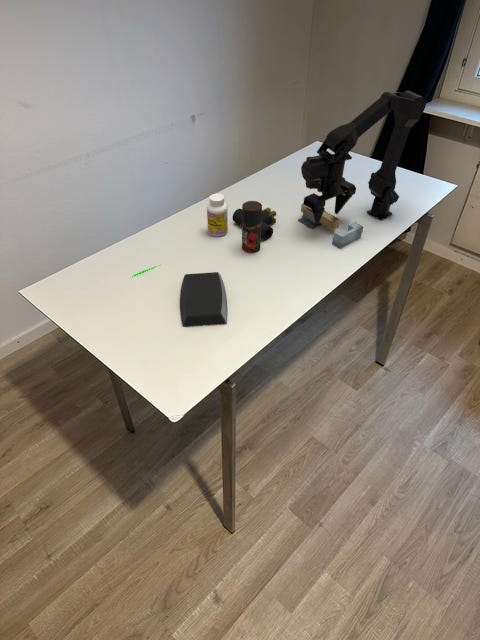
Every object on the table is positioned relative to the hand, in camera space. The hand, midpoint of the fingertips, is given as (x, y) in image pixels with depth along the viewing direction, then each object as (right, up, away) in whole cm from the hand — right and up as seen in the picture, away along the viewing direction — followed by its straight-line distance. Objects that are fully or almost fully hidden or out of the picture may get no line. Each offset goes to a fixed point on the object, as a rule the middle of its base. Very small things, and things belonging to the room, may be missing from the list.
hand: (326, 218), depth 148 cm
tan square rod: (-2, 0, +3) cm, 4 cm away
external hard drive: (-39, -29, -24) cm, 54 cm away
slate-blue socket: (+6, -8, -3) cm, 10 cm away
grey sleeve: (-3, 0, +6) cm, 7 cm away
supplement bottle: (-36, -5, +1) cm, 37 cm away
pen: (-58, -20, -15) cm, 64 cm away
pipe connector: (-22, -2, +4) cm, 23 cm away
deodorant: (-25, -11, -6) cm, 28 cm away
